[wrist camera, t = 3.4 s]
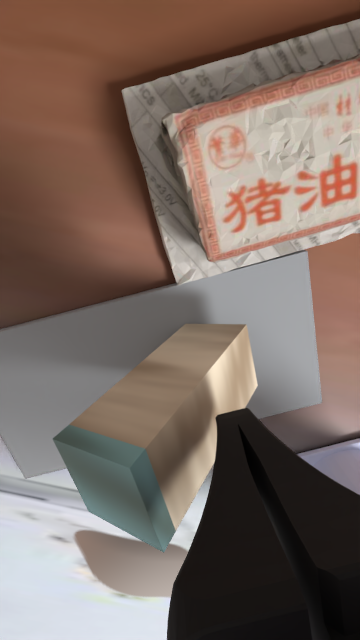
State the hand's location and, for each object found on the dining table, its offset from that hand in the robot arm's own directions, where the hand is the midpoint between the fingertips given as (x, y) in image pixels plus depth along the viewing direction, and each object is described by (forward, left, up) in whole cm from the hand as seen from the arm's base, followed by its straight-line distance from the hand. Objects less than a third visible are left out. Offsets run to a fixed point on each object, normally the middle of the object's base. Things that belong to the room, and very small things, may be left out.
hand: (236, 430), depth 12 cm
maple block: (0, -1, -7) cm, 7 cm away
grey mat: (-1, +4, -8) cm, 9 cm away
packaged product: (+10, -8, -9) cm, 15 cm away
